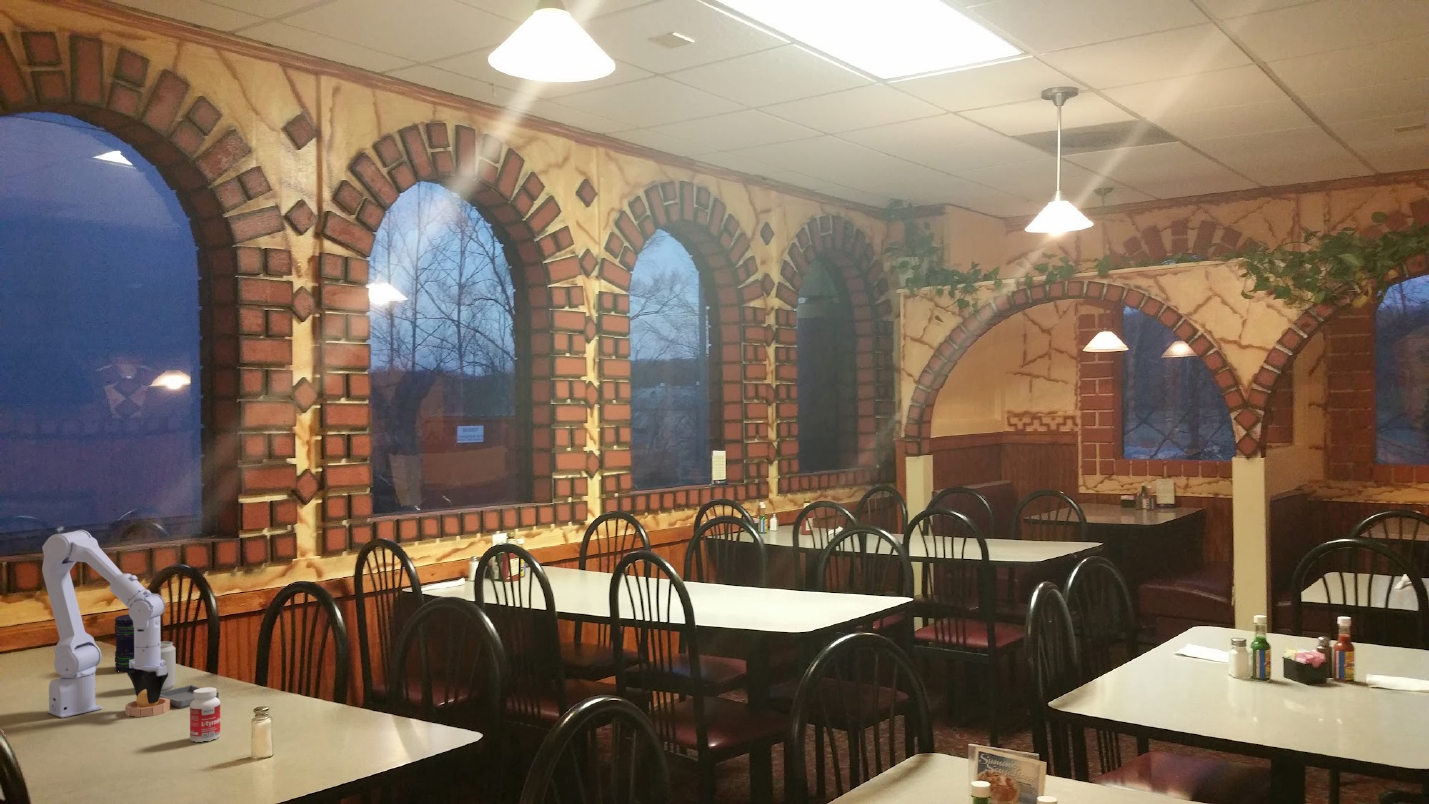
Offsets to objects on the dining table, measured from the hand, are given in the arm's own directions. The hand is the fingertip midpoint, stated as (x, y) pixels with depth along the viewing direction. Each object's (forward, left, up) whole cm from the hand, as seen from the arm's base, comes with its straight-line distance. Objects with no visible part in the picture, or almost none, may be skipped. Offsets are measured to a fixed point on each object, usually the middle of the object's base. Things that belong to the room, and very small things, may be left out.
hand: (147, 700), depth 263 cm
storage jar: (+19, +47, -3) cm, 51 cm away
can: (+12, +19, -3) cm, 23 cm away
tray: (+10, +2, -3) cm, 11 cm away
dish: (0, 0, -3) cm, 3 cm away
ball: (0, 0, 0) cm, 0 cm away
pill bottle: (-4, -33, -3) cm, 33 cm away
